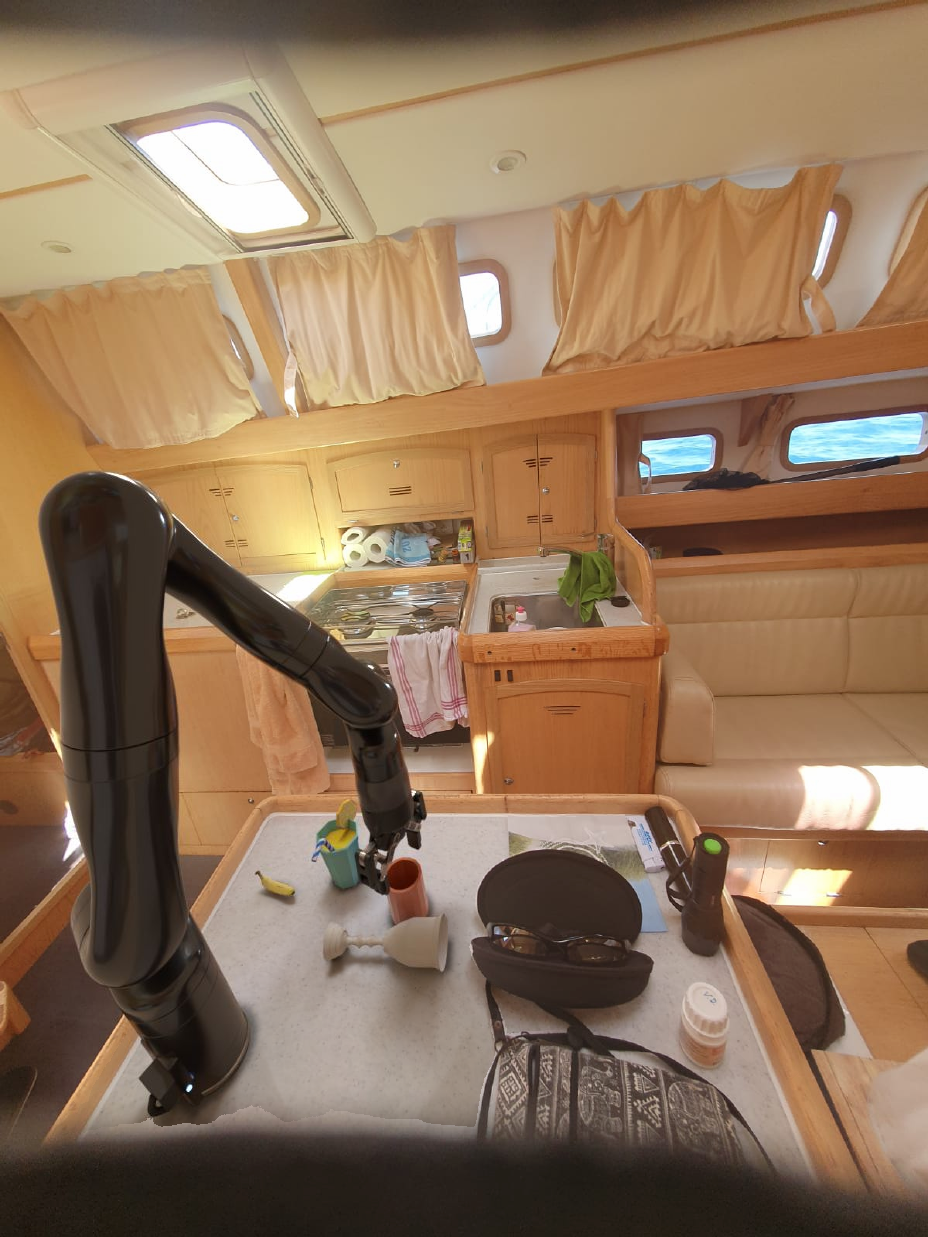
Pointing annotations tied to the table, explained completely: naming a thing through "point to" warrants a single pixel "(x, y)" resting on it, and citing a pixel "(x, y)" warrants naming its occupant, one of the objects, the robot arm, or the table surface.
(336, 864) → the cup
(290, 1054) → the table surface
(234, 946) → the table surface
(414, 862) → the tumbler
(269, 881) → the banana
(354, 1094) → the table surface
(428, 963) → the chalice
